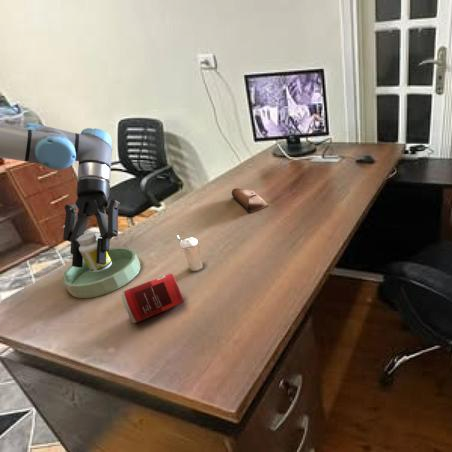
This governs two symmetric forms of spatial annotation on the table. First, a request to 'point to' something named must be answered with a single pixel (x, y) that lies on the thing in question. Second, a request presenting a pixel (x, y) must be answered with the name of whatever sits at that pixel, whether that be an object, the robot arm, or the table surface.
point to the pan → (102, 275)
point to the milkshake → (191, 253)
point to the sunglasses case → (249, 199)
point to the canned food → (152, 298)
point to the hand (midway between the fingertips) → (89, 264)
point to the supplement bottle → (92, 252)
